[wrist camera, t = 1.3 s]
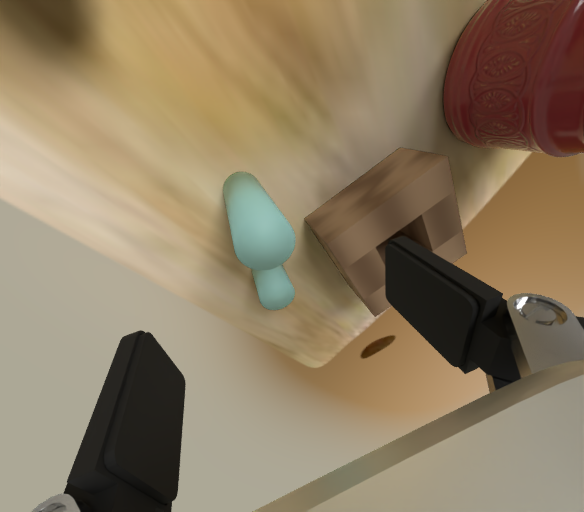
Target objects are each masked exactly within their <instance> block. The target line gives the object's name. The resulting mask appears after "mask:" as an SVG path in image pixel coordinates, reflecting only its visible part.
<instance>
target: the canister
mask: <svg viewBox="0 0 584 512" xmlns="http://www.w3.org/2000/svg"><path fill="white" fill-rule="evenodd" d="M443 101H444V113H445V117H446V121H447V124H448V126H449V128H450V130H451V131H452V133H453V134H454V135H455V136H456V137H457V138H458V139H460V140H461V141H463V142H466V143H469V144H470V145H473V146H476V147H481V148H488V149H494V148H505V149H514V150H522V151H530V152H539V153H546V154H548V155H550V156H554V157H568V156H573V155H576V154H579V153H584V0H488V1H486V2H485V3H484V4H483V6H482V7H481V8H480V9H479V10H478V11H477V12H476V14H475V15H474V16H473V18H472V19H471V20H470V22H469V23H468V25H467V26H466V28H465V30H464V31H463V33H462V35H461V37H460V39H459V41H458V43H457V45H456V47H455V50H454V52H453V55H452V57H451V60H450V63H449V66H448V70H447V74H446V79H445V85H444V97H443Z"/></svg>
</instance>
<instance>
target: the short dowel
mask: <svg viewBox="0 0 584 512" xmlns="http://www.w3.org/2000/svg"><path fill="white" fill-rule="evenodd" d="M252 274H253V277H254V281H255V285H256V288H257V292H258V295H259V299H260V302H261V304H262V306H263V307H265V308H266V309H269V310H279V309H282V308H284V307H286V306H287V305H289V304H290V303H291V302H292V300H293V298H294V295H295V291H294V288H293V286H292V284H291V282H290V280H289V277H288V275H287V273H286V271H285V269H284V267H283V265H282V264H281V265H280V266H278V267H276V268H273V269H270V270H254V269H252Z"/></svg>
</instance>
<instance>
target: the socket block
mask: <svg viewBox="0 0 584 512" xmlns="http://www.w3.org/2000/svg"><path fill="white" fill-rule="evenodd" d="M304 219H305V221H306V222H307V224H308V225H309V227H310V228H311V229H312V231H313V232H314V234H315V235H316V237H317V238H318V240H319V241H320V243H321V244H322V246H323V247H324V249H325V250H326V252H327V253H328V255H329V256H330V258H331V259H332V261H333V262H334V264H335V265H336V267H337V268H338V270H339V271H340V273H341V274H342V275H343V277H344V278H345V280H346V281H347V283H348V284H349V286H350V287H351V288H352V289H353V291H354V292H355V293H356V294H357V296H358V297H359V298H360V299H361V300H362V302H363V303H364V304H365V305H366V307H367V308H368V309H369V310H370V311H371V313H372V314H373V315H374V316H375V317H376V316H377V315H379V314H380V313H381V312H383V311H384V310H386V309H387V308H389V307H390V306H392V305H391V304H390V303H389V302H388V301H387V299H386V295H385V247H386V246H387V245H388V242H389V241H390V240H392V239H395V238H398V237H401V236H405V237H407V238H409V239H411V240H412V241H414V242H416V243H417V244H419V245H421V246H423V247H424V248H426V249H428V250H429V251H431V252H433V253H435V254H436V255H438V256H440V257H441V258H443V259H445V260H446V261H448V262H450V263H454V262H455V261H456V260H458V259H459V258H461V257H462V256H464V255H465V254H467V251H466V246H465V240H464V235H463V230H462V225H461V220H460V215H459V210H458V205H457V200H456V195H455V190H454V185H453V180H452V174H451V169H450V164H449V159H448V156H444V155H438V154H433V153H427V152H422V151H416V150H411V149H405V148H399V149H397V150H396V151H395V152H393V153H392V154H391V155H389V156H388V157H387V158H385V159H384V160H383V161H381V162H380V163H379V164H377V165H376V166H375V167H373V168H372V169H371V170H369V171H368V172H366V173H365V174H364V175H362V176H361V177H360V178H358V179H357V180H356V181H354V182H353V183H352V184H350V185H349V186H348V187H346V188H345V189H344V190H342V191H341V192H340V193H338V194H337V195H335V196H334V197H333V198H331V199H330V200H329V201H327V202H326V203H325V204H323V205H322V206H321V207H319V208H318V209H317V210H315V211H314V212H313V213H311V214H310V215H309V216H307V217H306V218H304Z"/></svg>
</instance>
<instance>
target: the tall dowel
mask: <svg viewBox="0 0 584 512" xmlns="http://www.w3.org/2000/svg"><path fill="white" fill-rule="evenodd" d="M223 194H224V199H225V204H226V209H227V214H228V219H229V225H230V230H231V235H232V240H233V245H234V250H235V253H236V256H237V258H238V259H239V260H240V261H241V263H243V264H244V265H245V266H247V267H249V268H251V269H254V270H270V269H273V268H276V267H278V266H280V265H281V264H283V263H284V262H285V261H286V260H287V259H288V258H289V257H290V255H291V254H292V252H293V250H294V247H295V233H294V230H293V228H292V227H291V225H290V224H289V222H288V221H287V220H286V218H285V217H284V216H283V214H282V213H281V212H280V210H279V209H278V207H277V206H276V205H275V203H274V202H273V201H272V199H271V198H270V197H269V195H268V194H267V193H266V191H265V190H264V188H263V187H262V186H261V184H260V183H259V182H258V180H257V179H256V178H255V177H254V176H253V175H251V174H249V173H247V172H236V173H234V174H232V175H230V176H229V177H228V178H227V179H226V181H225V183H224V186H223Z"/></svg>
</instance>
